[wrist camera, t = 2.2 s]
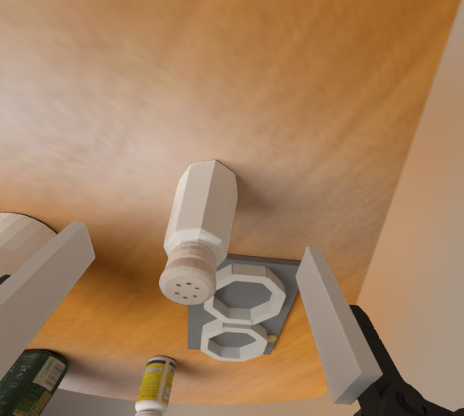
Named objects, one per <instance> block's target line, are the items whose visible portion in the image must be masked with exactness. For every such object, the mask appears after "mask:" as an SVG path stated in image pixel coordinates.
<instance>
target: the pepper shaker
mask: <svg viewBox="0 0 464 416" xmlns="http://www.w3.org/2000/svg"><path fill="white" fill-rule="evenodd" d="M237 199H238V190H237V183H236V176H235V173H233V172H232V171H230V170H229V169H228V168H226V167H225V166H223V165H222V164H220V163H219V162H218V161H216V160H212V161H204V162H197V163H191V164H190V166H189V167H188V169H187V170H186V172H185V173H184V175H183V176H182V178H181V179H180V181H179V184H178V188H177V192H176V196H175V200H174V204H173V208H172V212H171V216H170V219H169V223H168V227H167V231H166V235H165V240H164V249H165V251H166V254H167V256H168V261H167V264H166V267H165V270H164V271H163V273H162V274H161V277H160V280H159V287H160V289H161V291H162V293H163V294H164V295H165V296H166V297H167V298H168V299H170V300H171V301H174V302H176V303H179V304H183V305H198V304H201V303H204V302H206V301H208V300H209V299H210V298H211V297H212V296H214V294H215V292H216V287H217V283H216V279H215V278H216V271H217V267H218V266H219V265H220V264H221V263H222V262H223V261H224V260H225V259H226V256H227V252H228V248H229V242H230V237H231V231H232V226H233V220H234V215H235V210H236V204H237Z"/></svg>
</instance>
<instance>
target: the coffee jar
mask: <svg viewBox="0 0 464 416" xmlns="http://www.w3.org/2000/svg"><path fill="white" fill-rule="evenodd" d="M67 370H68V366H67V364H66V361H65V360H64V359H63V358H62V357H61V356H59V355H58V356H57V355H55V354H52V353H50V352H48V351H42V350H41V351H38V350H37V351H23V352H22V354H21V355H20V356H19V357H18V359H17V360H16V361H15V363H14V364H13V365H12V366H11V368H10V369H9V370H8V372H7V373H6V374H5V376H4V377H3V378H2V379H1V381H0V416H40V414H41V413H42V411H43V409H44V408H45V406H46V405H47V403H48V402H49V400H50V399H51V397H52V395H53V394H54V392H55V391H56V389H57V388H58V386H59V384H60V383H61V381H62V379H63V378H64V376H65V374H66V372H67Z"/></svg>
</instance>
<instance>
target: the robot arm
mask: <svg viewBox="0 0 464 416" xmlns="http://www.w3.org/2000/svg"><path fill="white" fill-rule="evenodd" d="M95 258H96V257H95V254H94V250H93V246H92V243H91V239H90V236H89V232H88V229H87V225H86V223H84V222H74V221H72V222H71V223H70V224H69V225H67V226H66V227H65V228H64V229H63V230H62V231H61V232H60V233H58V234H57V235H56V236H55V237H54V238H53V239H52V240H51V241H49V242H48V243H47V244H46V245H45V246H44V247H43V248H42V249H40V250H39V251H38V252H37V253H36V254H35V255H34V256H33V257H31V258H30V259H29V260H28V261H27V262H26V263H25V264H23V265H22V266H21V267H20V268H19V269H18V270H17V271H16V272H14V273H13V274H12V275H6V274H5V275H4V276H2V277H0V381H1V379H2V378H3V377H4V376H5V374H6V373H7V372H8V370H9V369H10V368H11V366H12V365H13V364H14V363H15V361H16V360H17V359H18V357H19V356H20V355H21V354H22V352H23V351H24V350H25V348H26V347H27V346H28V344H29V343H30V342H31V341H32V339H33V338H34V337H35V335H36V334H37V333H38V332H39V330H40V329H41V328H42V326H43V325H44V324H45V322H46V321H47V320H48V319H49V317H50V316H51V315H52V313H53V312H54V311H55V310H56V308H57V307H58V306H59V304H60V303H61V302H62V300H63V299H64V298H65V297H66V295H67V294H68V293H69V291H70V290H71V289H72V288H73V286H74V285H75V284H76V282H77V281H78V280H79V278H80V277H81V276H82V275H83V273H84V272H85V271H86V269H87V268H88V267H89V266H90V264H91V263H92V262H93V260H94V259H95ZM295 277H296V280H297V284H298V287H299V290H300V294H301V297H302V300H303V304H304V307H305V310H306V314H307V317H308V320H309V324H310V327H311V331H312V334H313V337H314V341H315V344H316V347H317V351H318V354H319V357H320V361H321V364H322V367H323V371H324V374H325V377H326V381H327V384H328V388H329V391H330V394H331V397H332V401H333V403H334V404H349V405H351V404H352V403H353V402H354V401H356V400H357V399H358V402H359V404H360V407H361V409H360V410H359V411H358V412H356V413H355V414H354V415H353V416H464V408H461V409H458V410H456V411H455V412H452V411H450V410H448V409H445V408H443V407H440V406H438V405H436V404H434V403H431V402H429V401H427V400H425V399H424V398H423V397H422V395H421V394H420V393H419V392H418V391H417V390H416V389H414V388H413V387H412V386H411V385H409V384H407V383H406V382H405V381H404V380H403V378H402V377H401V375H400V374H399V372H398V370H397V368H396V366H395V365H394V363H393V361H392V359H391V357H390V355H389V354H388V352H387V350H386V348H385V347H384V345H383V343H382V341H381V339H379V336H378V334H377V332H376V330H375V329H374V326H373V325H372V323H371V321H370V319H369V317H368V316H367V315H366V313H365V312H364V311H363V310H362V309H361V308H360V307H359V306H358V305H348V303H347V301H346V299H345V297H344V295H343V292H342V290H341V288H340V286H339V284H338V282H337V280H336V278H335V276H334V274H333V272H332V270H331V268H330V266H329V264H328V262H327V260H326V258H325V256H324V254H323V252H322V250H321V248H320V247H318V246H307V248H306V251H305V253H304V256H303V258H302V261H301V264H300V266H299V269H298V271H297V274H296V276H295Z"/></svg>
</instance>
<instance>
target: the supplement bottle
mask: <svg viewBox="0 0 464 416" xmlns="http://www.w3.org/2000/svg"><path fill="white" fill-rule="evenodd" d="M175 365H176V364H175V361H174V360H173V359H171V358H168V357H164V356H156V357H152V358H151V359H150V360H149V361H148V363H147V367H146V370H145V374H144V377H143V381H142V384H141V387H140V391H139V394H138V398H137V401H136V406H135V408H136V411H137V412H138V413H136V415H135V416H162V414H163V413H165V412H166V410H167V407H168V402H169V397H170V392H171V386H172V381H173V376H174V371H175Z"/></svg>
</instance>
